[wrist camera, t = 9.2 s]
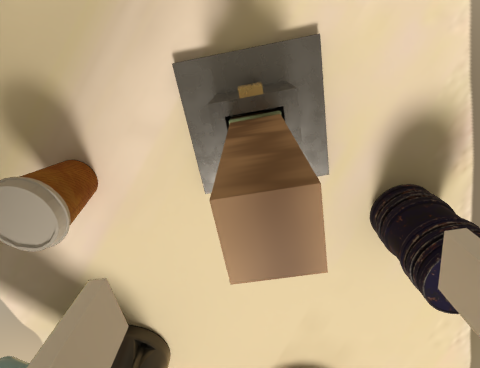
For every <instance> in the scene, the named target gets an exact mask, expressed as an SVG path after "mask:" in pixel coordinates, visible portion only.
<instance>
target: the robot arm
mask: <svg viewBox="0 0 480 368" xmlns="http://www.w3.org/2000/svg"><path fill="white" fill-rule="evenodd" d="M438 289H439V290H440V291H441V293H442V294H443V295H444V296H445V297H446V299H447V300H448V301H449V302H450V303H451V304H452V306H453V307H454V308H455V309H456V310H457V312H458V313H459V314H460V315H461V316H462V318H463V319H464V320H465V321H466V322H467V323H468V325H469V326H470V327H471V328H472V329H473V331H474V332H475V333H476V334H477V335H478V336H479V338H480V238H479V237H478V236H476V235H475V234H474V233H472V232H471V231H470V230H469V229H467V228H462V229H455V230H448V231H444V240H443V248H442V257H441V266H440V275H439V284H438ZM169 361H170V350H169V348H168V346H167V344H166V343H165V341H164V340H163V339H162V338H161V337H159V336H158V335H157V334H155V333H153V332H151V331H149V330H147V329H144V328H141V327H136V326H128V324H127V322H126V319H125V317H124V315H123V313H122V311H121V309H120V306H119V304H118V302H117V300H116V298H115V296H114V294H113V291H112V289H111V287H110V285H109V283H108V281H107V278H102V279H95V280H88V282H87V283H86V285H85V286H84V288H83V289H82V290H81V292H80V293H79V295H78V296H77V297H76V299H75V300H74V302H73V303H72V304H71V306H70V307H69V309H68V310H67V311H66V313H65V314H64V316H63V317H62V319H61V320H60V321H59V323H58V324H57V326H56V327H55V328H54V330H53V331H52V333H51V334H50V335H49V337H48V338H47V340H46V341H45V343H44V344H43V345H42V347H41V348H40V350H39V351H38V353H37V354H36V355H35V357H34V358H33V359H32V361H31V362H30V363H27V362H25V361H22V360H20V359H18V358H15V357H12V356H7V357H3V358H0V368H168V365H169Z"/></svg>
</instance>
